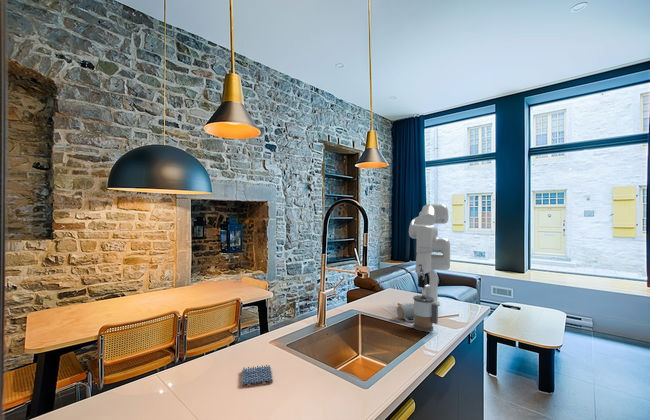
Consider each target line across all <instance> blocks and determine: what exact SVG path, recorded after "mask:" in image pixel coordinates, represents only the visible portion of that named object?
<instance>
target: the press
mask: <svg viewBox="0 0 650 420" xmlns="http://www.w3.org/2000/svg"><path fill="white" fill-rule="evenodd" d="M412 297H413V298H412V300H413V306H414V318H413V320H414V322H413V323H412V324H413V325H412V327H413V326H414V327H413V329H414V328H415V329H414V330H416V331H419V332H423V331H430V332H433V331H434V326H433V325H436V324H438V323H439V306H438V304H434V303H433V302H434V298H432V297H429V296H425V299H422V294H421V295H420V294H419V295H417V294H416V295H414V296H412Z"/></svg>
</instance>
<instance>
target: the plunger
mask: <svg viewBox="0 0 650 420" xmlns="http://www.w3.org/2000/svg"><path fill="white" fill-rule="evenodd" d="M424 280H425V287H424V288H423V289H422V288H421V296H422V299H425V288H428V287H430V284H427V276H424Z"/></svg>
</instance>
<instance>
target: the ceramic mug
mask: <svg viewBox="0 0 650 420" xmlns="http://www.w3.org/2000/svg"><path fill="white" fill-rule="evenodd" d="M396 314H397V317H398V319H400V320H405V322H408V323H411V324H414V304H413V303H407V304H402V305H399V306H397V308H396ZM412 319H413V320H412Z"/></svg>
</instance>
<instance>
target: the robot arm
mask: <svg viewBox="0 0 650 420" xmlns="http://www.w3.org/2000/svg"><path fill="white" fill-rule="evenodd" d="M448 222H449V209H448V207H447V205H445V204H444V203H443V204H441V203H429V204H425V205H423V206H422V209H421V211H419V214H418V216H417V217H414V218H413V219H412V220H411V221H410V223H409V228H408V235H409V237H410V238H411V239H416V256H415V270H414V271H415V273H416V274H417V287H418V288H421V290H422V289H423V288H424V287H425V280H424V276H427V284H430V287H428V288H425V296H429V297H432V298H434V302H433V303H434V304H438V307H439V306H440V305H441V302H440V301H439V300H438V298H439V297H438V294H439V293H438V288H439V287H438V284H439V283H438V282H439V279H438V278H439V277H438V275H437V273H436V271H437V270H438V271H448V270H449V269H450V267H451V243H450V240H449V239H448V238H446V237H439V236H438V231H439V230H438V228H437V226H436V225H435V224H437V225H438V224H442V225H443V224H447V223H448ZM435 253H441V254H435ZM435 270H436V271H435Z"/></svg>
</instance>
